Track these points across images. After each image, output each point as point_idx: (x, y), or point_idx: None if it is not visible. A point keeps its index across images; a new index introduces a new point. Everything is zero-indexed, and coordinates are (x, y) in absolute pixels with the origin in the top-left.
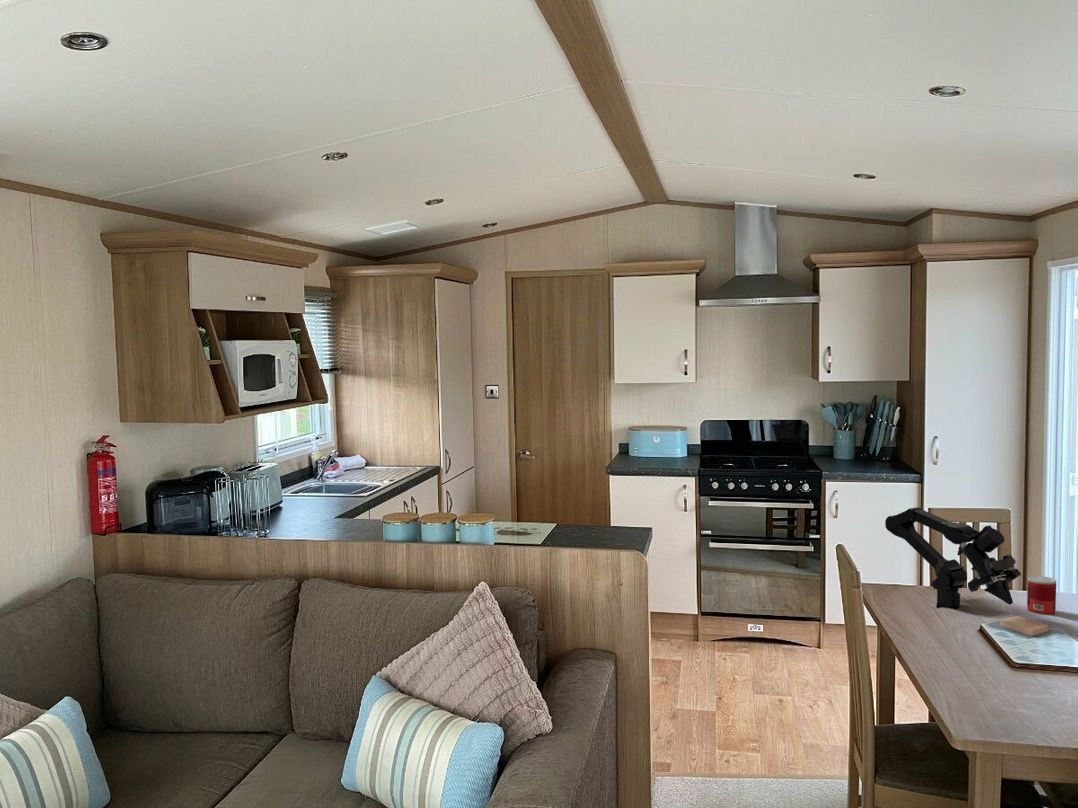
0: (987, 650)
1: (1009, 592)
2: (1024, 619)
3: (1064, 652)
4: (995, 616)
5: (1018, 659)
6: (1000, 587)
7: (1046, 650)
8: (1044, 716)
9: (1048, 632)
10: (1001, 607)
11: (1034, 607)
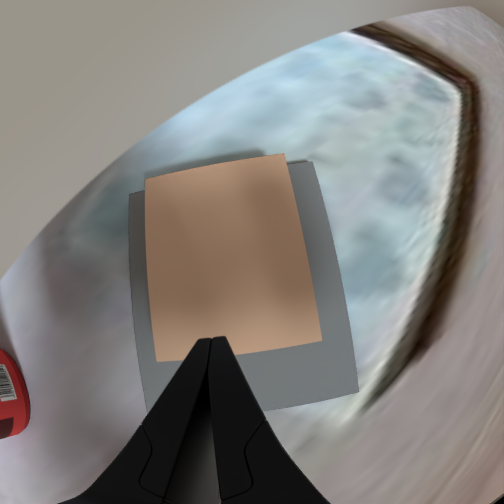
0: (494, 166)
1: (153, 421)
2: (166, 298)
3: (282, 65)
4: None
5: (445, 92)
6: (301, 501)
7: (326, 88)
8: (475, 21)
9: None
10: None
11: (10, 395)
